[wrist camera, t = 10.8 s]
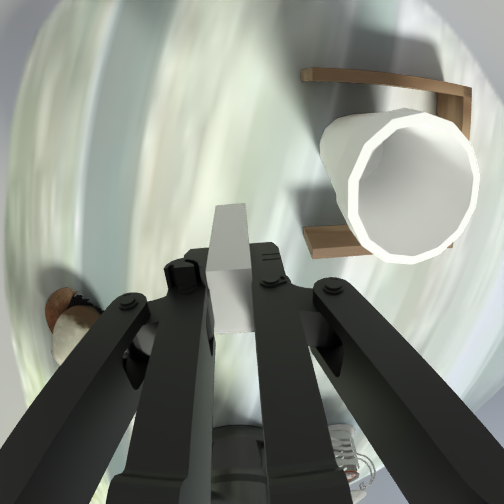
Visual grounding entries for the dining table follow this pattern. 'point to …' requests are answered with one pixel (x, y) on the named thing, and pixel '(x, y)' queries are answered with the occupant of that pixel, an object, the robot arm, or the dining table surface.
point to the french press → (348, 456)
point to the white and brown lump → (68, 321)
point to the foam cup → (401, 181)
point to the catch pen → (448, 94)
